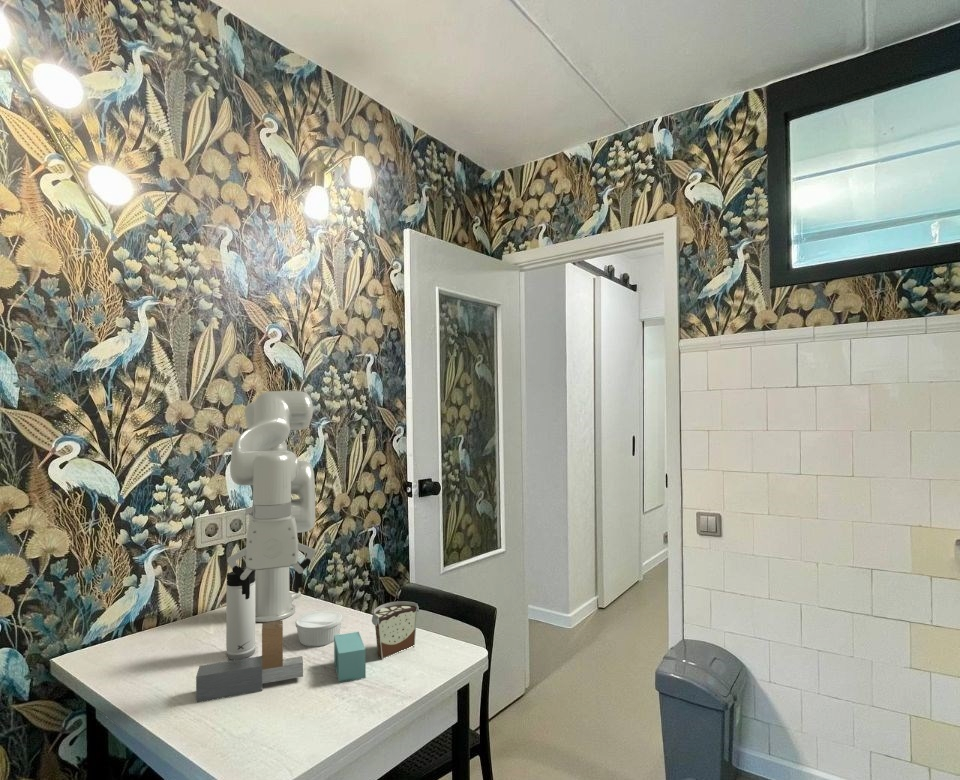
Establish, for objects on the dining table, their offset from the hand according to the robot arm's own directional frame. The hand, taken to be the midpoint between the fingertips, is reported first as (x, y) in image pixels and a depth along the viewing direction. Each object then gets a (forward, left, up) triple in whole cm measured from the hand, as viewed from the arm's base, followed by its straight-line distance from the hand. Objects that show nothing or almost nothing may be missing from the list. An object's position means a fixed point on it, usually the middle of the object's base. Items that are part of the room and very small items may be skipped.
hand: (272, 594), depth 115 cm
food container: (-24, +13, -19) cm, 33 cm away
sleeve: (+5, -6, -18) cm, 20 cm away
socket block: (-11, +11, -18) cm, 24 cm away
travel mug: (-8, -18, -19) cm, 27 cm away
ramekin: (-22, -7, -19) cm, 30 cm away
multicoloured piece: (+2, -3, -18) cm, 18 cm away
